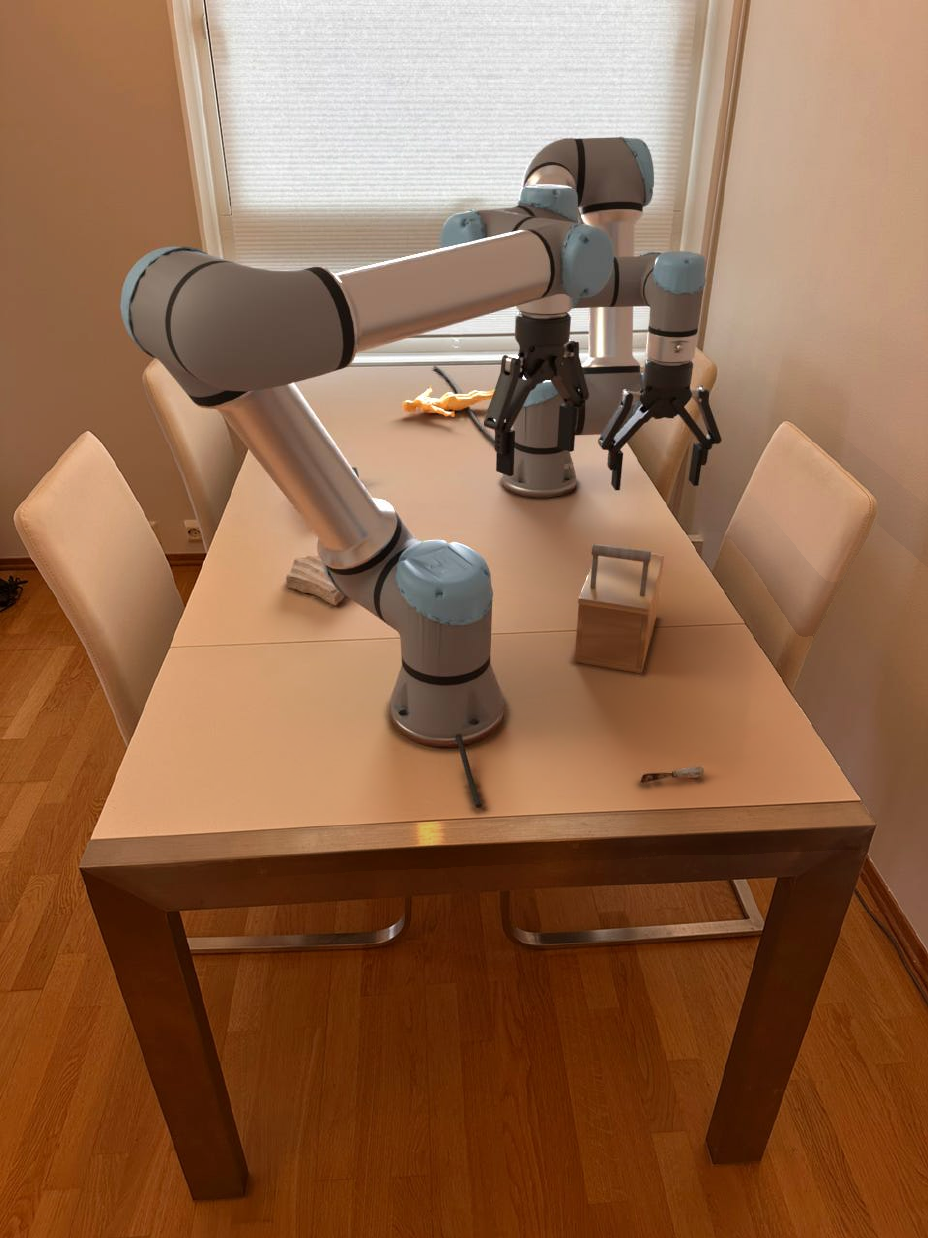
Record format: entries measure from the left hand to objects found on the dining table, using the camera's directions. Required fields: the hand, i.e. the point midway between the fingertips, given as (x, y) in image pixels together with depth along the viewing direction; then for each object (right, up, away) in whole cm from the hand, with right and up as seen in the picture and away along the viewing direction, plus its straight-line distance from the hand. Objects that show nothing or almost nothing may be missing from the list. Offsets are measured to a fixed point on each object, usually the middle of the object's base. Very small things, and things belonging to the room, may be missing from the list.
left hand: (536, 460), depth 132 cm
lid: (+12, -18, -1) cm, 22 cm away
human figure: (-14, +30, +94) cm, 100 cm away
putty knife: (+15, -43, -22) cm, 51 cm away
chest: (+13, -26, +4) cm, 30 cm away
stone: (-34, -18, +19) cm, 43 cm away
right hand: (+22, -1, +19) cm, 29 cm away
